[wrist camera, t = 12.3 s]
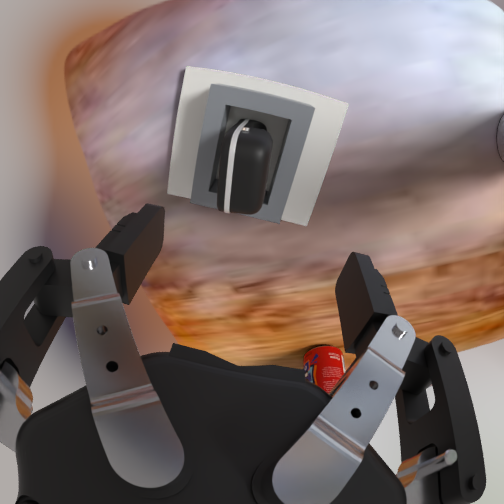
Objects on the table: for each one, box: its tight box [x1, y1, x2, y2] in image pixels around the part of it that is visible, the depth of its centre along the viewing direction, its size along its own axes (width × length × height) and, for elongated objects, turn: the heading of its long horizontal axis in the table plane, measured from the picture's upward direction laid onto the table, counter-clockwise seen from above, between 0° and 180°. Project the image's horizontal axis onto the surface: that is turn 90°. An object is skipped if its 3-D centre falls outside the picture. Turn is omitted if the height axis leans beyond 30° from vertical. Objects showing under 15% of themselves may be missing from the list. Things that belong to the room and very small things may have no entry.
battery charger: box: [217, 118, 273, 215], centre depth 25 cm, size 7×4×11 cm, turn 173°
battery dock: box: [167, 66, 349, 226], centre depth 29 cm, size 18×16×5 cm
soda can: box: [303, 346, 345, 393], centre depth 45 cm, size 8×8×15 cm
